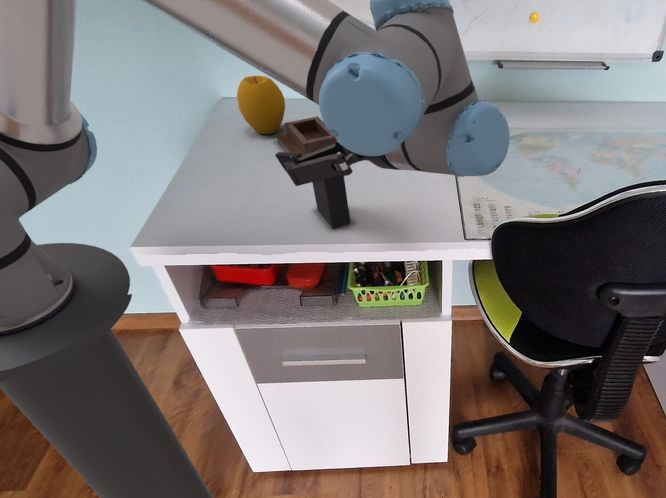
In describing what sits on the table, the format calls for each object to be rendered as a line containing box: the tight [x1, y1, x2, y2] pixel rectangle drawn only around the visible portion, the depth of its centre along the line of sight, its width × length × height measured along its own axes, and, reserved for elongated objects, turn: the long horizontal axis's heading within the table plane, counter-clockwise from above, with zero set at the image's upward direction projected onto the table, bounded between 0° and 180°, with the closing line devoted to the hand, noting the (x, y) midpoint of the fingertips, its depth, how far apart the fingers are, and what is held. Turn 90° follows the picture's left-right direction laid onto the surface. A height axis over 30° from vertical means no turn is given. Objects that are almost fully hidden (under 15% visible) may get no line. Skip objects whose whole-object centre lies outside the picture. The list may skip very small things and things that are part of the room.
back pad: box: [307, 152, 351, 230], centre depth 93 cm, size 4×7×11 cm, turn 32°
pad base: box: [276, 116, 350, 156], centre depth 115 cm, size 12×12×4 cm
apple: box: [236, 75, 286, 135], centre depth 117 cm, size 10×10×12 cm
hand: (315, 136), depth 81 cm, fingers open, 13 cm apart
